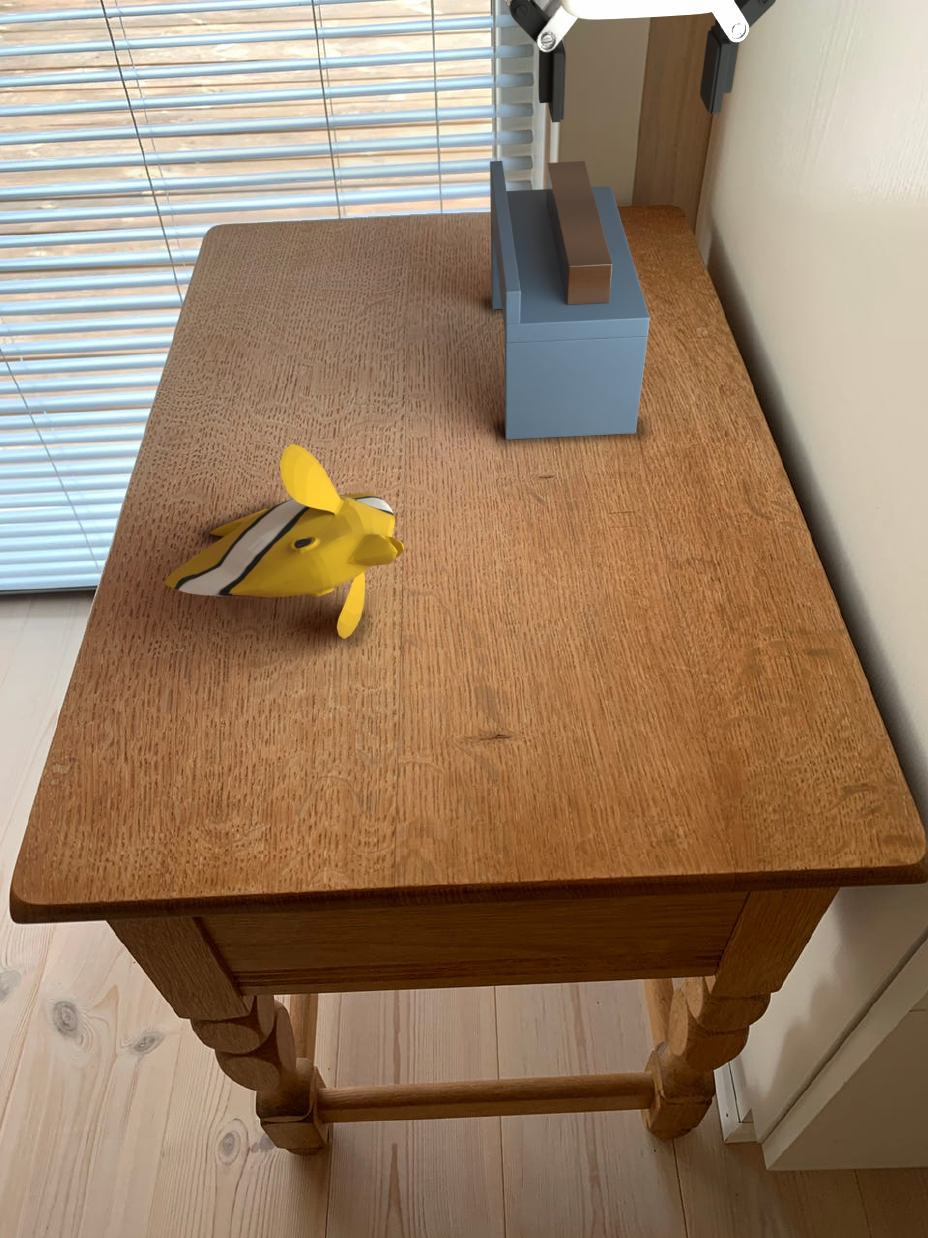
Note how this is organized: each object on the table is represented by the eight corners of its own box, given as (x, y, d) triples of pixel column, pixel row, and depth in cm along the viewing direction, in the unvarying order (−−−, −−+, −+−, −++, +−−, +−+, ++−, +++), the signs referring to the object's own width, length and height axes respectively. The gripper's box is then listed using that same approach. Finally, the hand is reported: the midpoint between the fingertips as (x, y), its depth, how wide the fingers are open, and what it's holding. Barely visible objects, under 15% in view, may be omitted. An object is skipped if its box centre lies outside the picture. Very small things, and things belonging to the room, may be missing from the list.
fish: (427, 420, 54) (171, 524, 49) (486, 617, 59) (259, 732, 54) (305, 400, 71) (103, 477, 65) (359, 556, 76) (176, 639, 70)
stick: (609, 303, 69) (612, 263, 67) (566, 305, 69) (568, 265, 67) (583, 197, 80) (585, 160, 78) (546, 199, 80) (547, 162, 78)
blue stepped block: (602, 295, 89) (613, 154, 79) (635, 433, 76) (654, 284, 66) (491, 300, 89) (490, 160, 79) (505, 439, 76) (505, 291, 66)
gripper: (491, -231, 46) (497, 142, 59) (859, -253, 46) (785, 126, 59) (485, -255, 51) (491, 93, 64) (817, -275, 51) (757, 79, 64)
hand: (632, 109), depth 62 cm, fingers open, 9 cm apart
